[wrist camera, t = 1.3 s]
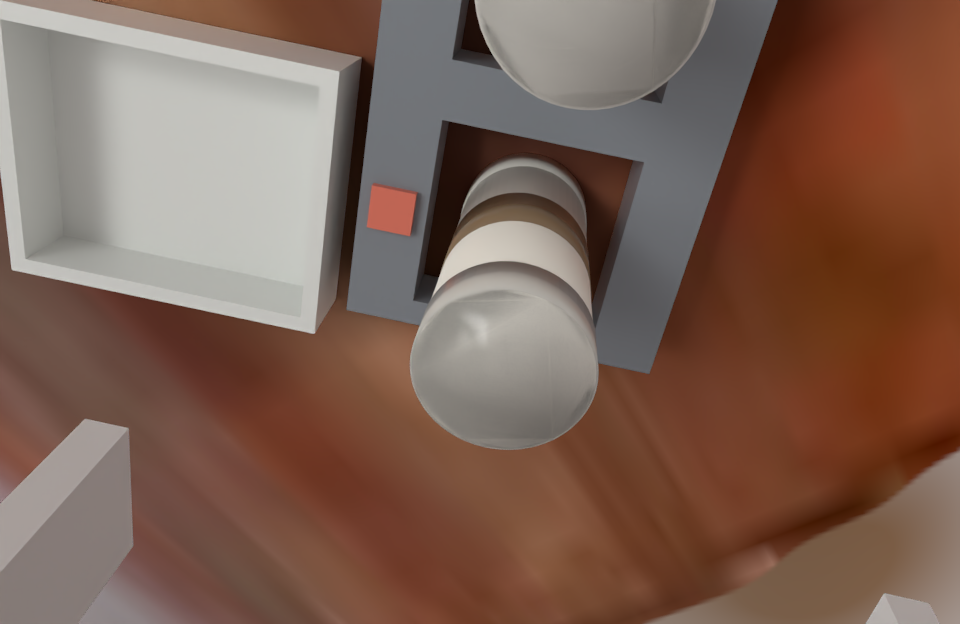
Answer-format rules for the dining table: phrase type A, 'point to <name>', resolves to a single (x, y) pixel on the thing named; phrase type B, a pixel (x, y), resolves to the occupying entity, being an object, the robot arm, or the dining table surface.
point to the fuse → (592, 46)
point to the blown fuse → (511, 311)
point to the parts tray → (175, 159)
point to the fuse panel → (510, 109)
